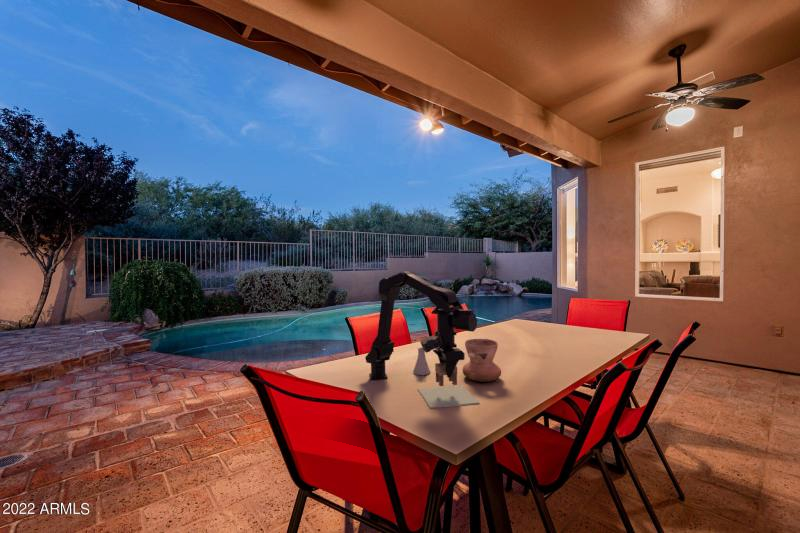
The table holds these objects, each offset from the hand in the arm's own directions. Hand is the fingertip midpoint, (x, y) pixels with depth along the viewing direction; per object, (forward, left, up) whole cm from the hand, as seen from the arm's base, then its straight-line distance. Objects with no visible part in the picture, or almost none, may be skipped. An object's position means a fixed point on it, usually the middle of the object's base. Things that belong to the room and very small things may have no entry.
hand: (446, 374), depth 112 cm
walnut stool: (0, 0, -3) cm, 3 cm away
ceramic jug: (-14, +19, -8) cm, 25 cm away
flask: (-26, -2, -8) cm, 27 cm away
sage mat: (0, 0, -7) cm, 7 cm away
